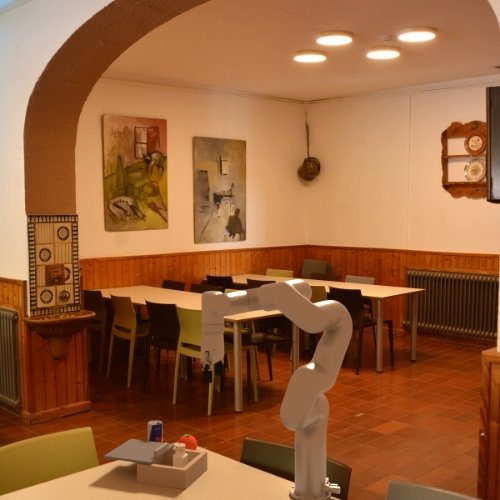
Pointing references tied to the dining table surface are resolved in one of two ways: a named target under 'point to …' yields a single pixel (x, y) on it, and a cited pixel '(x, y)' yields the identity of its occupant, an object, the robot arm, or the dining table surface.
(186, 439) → the clementine
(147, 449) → the box lid
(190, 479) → the mailer box
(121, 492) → the dining table surface
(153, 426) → the energy drink
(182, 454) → the pepper shaker
